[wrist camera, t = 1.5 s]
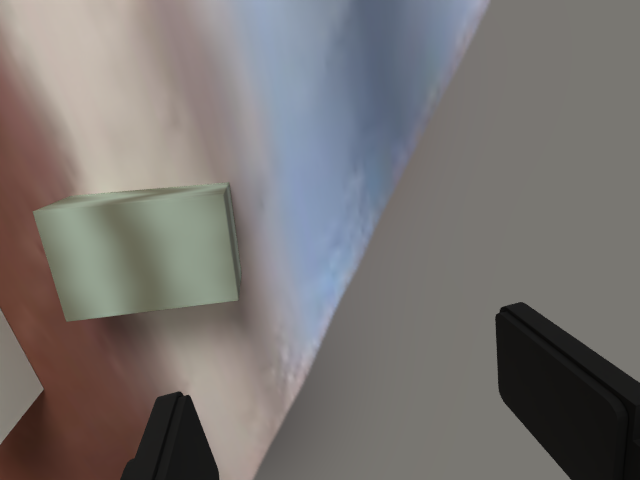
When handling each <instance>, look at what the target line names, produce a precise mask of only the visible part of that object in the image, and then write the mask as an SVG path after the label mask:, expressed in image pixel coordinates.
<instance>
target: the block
mask: <svg viewBox="0 0 640 480" xmlns="http://www.w3.org/2000/svg"><path fill="white" fill-rule="evenodd" d="M33 214H34V217H35V221H36V224H37V227H38V231H39V234H40V237H41V240H42V244H43V247H44V250H45V253H46V257H47V260H48V263H49V266H50V270H51V273H52V276H53V280H54V283H55V286H56V289H57V293H58V296H59V299H60V302H61V306H62V309H63V312H64V315H65V319H66V322H68V321H76V320H84V319H92V318H100V317H108V316H116V315H124V314H132V313H140V312H149V311H157V310H165V309H173V308H181V307H189V306H197V305H205V304H213V303H222V302H230V301H238V300H239V291H240V282H241V267H240V259H239V252H238V245H237V237H236V230H235V223H234V215H233V208H232V201H231V193H230V186H229V183H217V184H206V185H194V186H182V187H170V188H158V189H147V190H135V191H123V192H111V193H100V194H88V195H76V196H69V197H67V198H65V199H62V200H60V201H57V202H55V203H53V204H50V205H48V206H45V207H43V208H41V209H38V210H36V211H33Z"/></svg>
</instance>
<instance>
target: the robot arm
mask: <svg viewBox="0 0 640 480" xmlns="http://www.w3.org/2000/svg"><path fill="white" fill-rule="evenodd" d="M495 320H496V340H497V341H496V342H497V363H498V384H499V385H498V386H499V392H500V395H501V398H502V399H503V401H504V402H505V404H506V405H507V406H508V407H509V408H510V409H511V411H512V412H513V413H514V414H515V415H516V416H517V418H518V419H519V420H520V421H521V422H522V423H523V424H524V426H525V427H526V428H527V429H528V430H529V431H530V433H531V434H532V435H533V436H534V437H535V438H536V439H537V441H538V442H539V443H540V444H541V445H542V446H543V447H544V449H545V450H546V451H547V452H548V453H549V454H550V456H551V457H552V458H553V459H554V460H555V461H556V463H557V464H558V465H559V466H560V467H561V468H562V469H563V471H564V472H565V473H566V474H567V475H568V476H569V477H570V479H571V480H640V383H639V382H638V381H636V380H635V379H633V378H632V377H630V376H629V375H628V374H626V373H624V372H623V371H622V370H620V369H619V368H617V367H616V366H615V365H613V364H612V363H610V362H609V361H607V360H606V359H604V358H603V357H602V356H600V355H599V354H597V353H596V352H594V351H593V350H591V349H590V348H589V347H587V346H586V345H584V344H583V343H581V342H580V341H579V340H577V339H576V338H574V337H573V336H571V335H570V334H568V333H567V332H566V331H564V330H562V329H561V328H560V327H558V326H557V325H555V324H554V323H553V322H551V321H550V320H548V319H547V318H545V317H544V316H542V315H541V314H539V313H538V312H537V311H535V310H534V309H532V308H531V307H529V306H528V305H527V304H525V303H523V302H519V303H515V304H512V305H508V306H504V307H502V308H501V309H500V313H498V314H496V319H495ZM120 480H219V472H218V468H217V465H216V462H215V460H214V457H213V454H212V452H211V449H210V447H209V444H208V441H207V439H206V436H205V433H204V431H203V428H202V425H201V423H200V420H199V417H198V415H197V412H196V410H195V407H194V404H193V402H192V399H191V397H190V396H189V395H186V396H184V395H183V394H182V393H181V392H175V393H171V394H167V395H164V396H160V397H158V398H157V399H156V401H155V404H154V407H153V409H152V412H151V415H150V418H149V420H148V423H147V426H146V429H145V431H144V434H143V437H142V440H141V442H140V445H139V448H138V451H137V453H136V456H135V458H134V459H131V460H130V461H129V462H128V463H127V465H126V467H125V469H124V471H123V474H122V477H121V479H120Z"/></svg>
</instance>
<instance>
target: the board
mask: <svg viewBox="0 0 640 480" xmlns="http://www.w3.org/2000/svg"><path fill="white" fill-rule="evenodd" d="M43 390H44V389H43V387H42V385H41V383H40V381H39V379H38V377H37V376H36V374H35V372H34V370H33V368H32V366H31V364H30V363H29V361H28V359H27V357H26V355H25V353H24V352H23V350H22V348H21V346H20V344H19V342H18V340H17V339H16V337H15V335H14V333H13V331H12V329H11V327H10V326H9V324H8V322H7V320H6V318H5V316H4V315H3V313H2V311H1V309H0V444H1V443H2V441H3V440H4V439H5V438H6V436H7V435H8V434H9V433H10V431H11V430H12V429H13V428H14V426H15V425H16V424H17V422H18V421H19V420H20V419H21V417H22V416H23V415H24V414H25V412H26V411H27V410H28V409H29V407H30V406H31V405H32V404H33V402H34V401H35V400H36V398H37V397H38V396H39V395H40V393H41V392H42V391H43Z"/></svg>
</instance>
